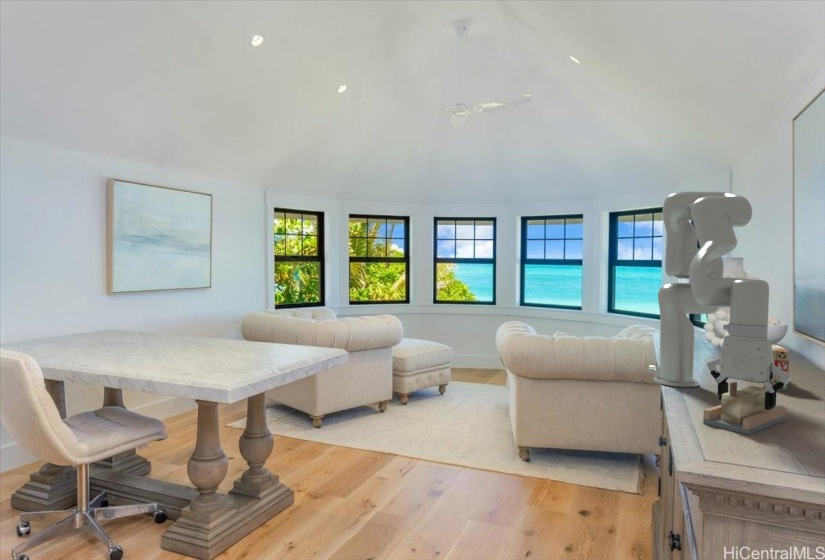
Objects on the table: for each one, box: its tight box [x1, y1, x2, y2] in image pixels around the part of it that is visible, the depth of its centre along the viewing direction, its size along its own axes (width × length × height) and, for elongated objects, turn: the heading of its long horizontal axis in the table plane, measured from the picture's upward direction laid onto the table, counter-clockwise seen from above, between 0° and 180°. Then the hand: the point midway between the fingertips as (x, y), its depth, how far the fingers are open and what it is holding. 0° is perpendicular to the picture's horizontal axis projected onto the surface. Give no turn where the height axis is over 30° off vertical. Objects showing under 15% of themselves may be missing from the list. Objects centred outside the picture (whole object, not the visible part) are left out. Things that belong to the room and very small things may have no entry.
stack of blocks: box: [757, 344, 790, 392], centre depth 160 cm, size 21×6×12 cm, turn 156°
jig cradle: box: [702, 404, 787, 436], centre depth 118 cm, size 9×20×3 cm, turn 125°
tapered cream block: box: [720, 381, 767, 425], centre depth 117 cm, size 4×16×9 cm, turn 125°
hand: (745, 403), depth 118 cm, fingers open, 9 cm apart
